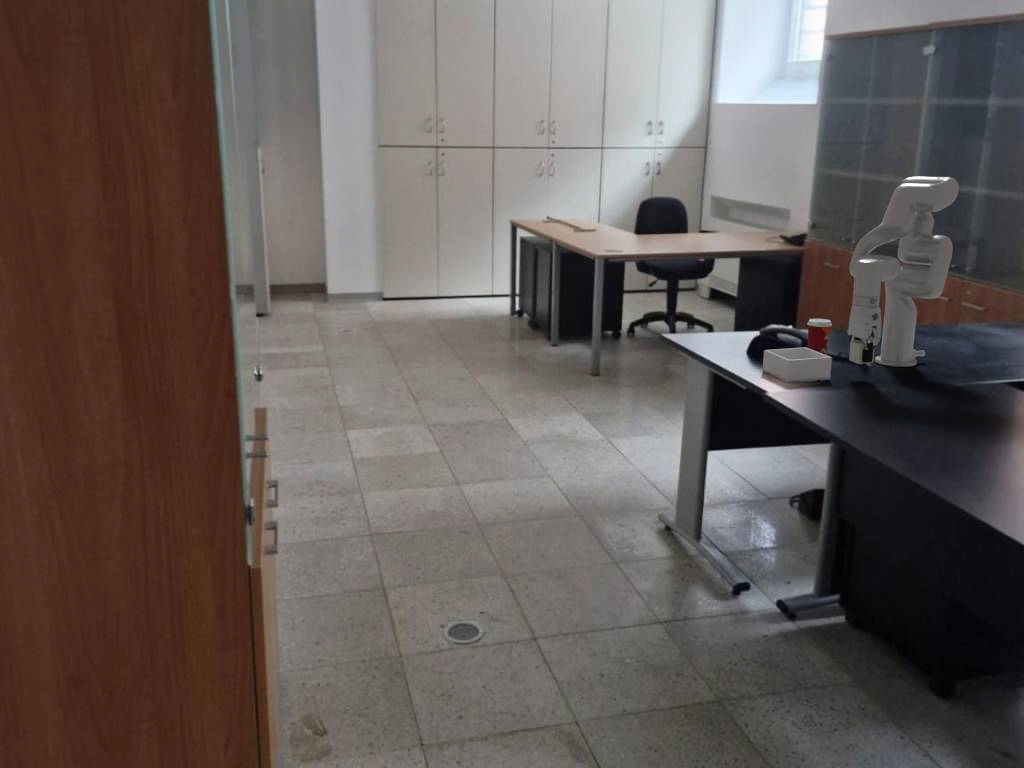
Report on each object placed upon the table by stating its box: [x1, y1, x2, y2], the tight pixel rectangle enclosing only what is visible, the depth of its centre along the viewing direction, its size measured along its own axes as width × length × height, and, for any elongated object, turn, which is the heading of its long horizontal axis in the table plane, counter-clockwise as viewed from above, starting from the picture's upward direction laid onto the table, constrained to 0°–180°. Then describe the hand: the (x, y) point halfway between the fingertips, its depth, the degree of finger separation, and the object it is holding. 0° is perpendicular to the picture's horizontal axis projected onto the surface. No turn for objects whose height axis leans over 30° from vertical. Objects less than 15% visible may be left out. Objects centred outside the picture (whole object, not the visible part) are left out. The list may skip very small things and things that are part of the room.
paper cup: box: [806, 318, 833, 356], centre depth 294 cm, size 8×8×14 cm
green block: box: [848, 339, 876, 365], centre depth 273 cm, size 5×5×6 cm
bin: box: [762, 346, 833, 384], centre depth 278 cm, size 15×15×7 cm
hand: (861, 359), depth 274 cm, fingers closed on green block, 5 cm apart
